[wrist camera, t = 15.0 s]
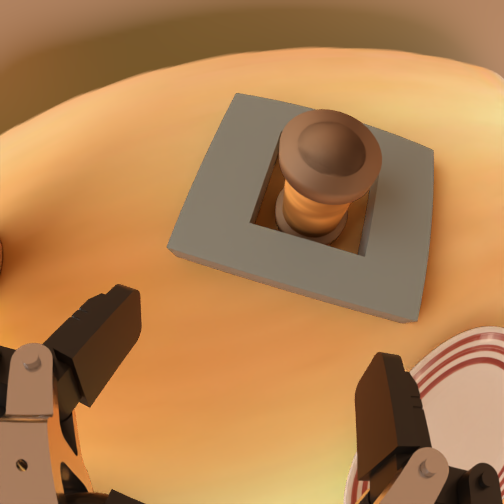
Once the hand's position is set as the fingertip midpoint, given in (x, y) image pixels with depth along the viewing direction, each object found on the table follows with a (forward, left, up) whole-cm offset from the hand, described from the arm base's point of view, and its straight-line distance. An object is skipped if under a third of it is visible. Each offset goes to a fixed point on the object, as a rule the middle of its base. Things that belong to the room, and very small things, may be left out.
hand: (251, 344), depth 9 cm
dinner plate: (+24, -7, -17) cm, 31 cm away
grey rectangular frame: (+1, +14, -17) cm, 21 cm away
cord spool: (+1, +12, -17) cm, 20 cm away
